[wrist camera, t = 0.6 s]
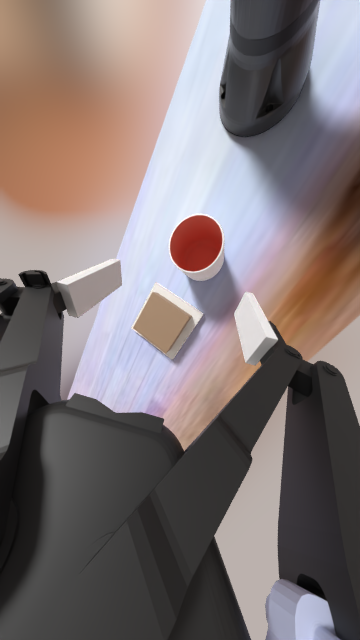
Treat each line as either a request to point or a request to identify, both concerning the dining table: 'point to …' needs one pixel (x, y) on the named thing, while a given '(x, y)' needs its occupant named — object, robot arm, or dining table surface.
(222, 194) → the dining table surface
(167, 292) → the plinth
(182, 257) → the cup
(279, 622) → the robot arm
